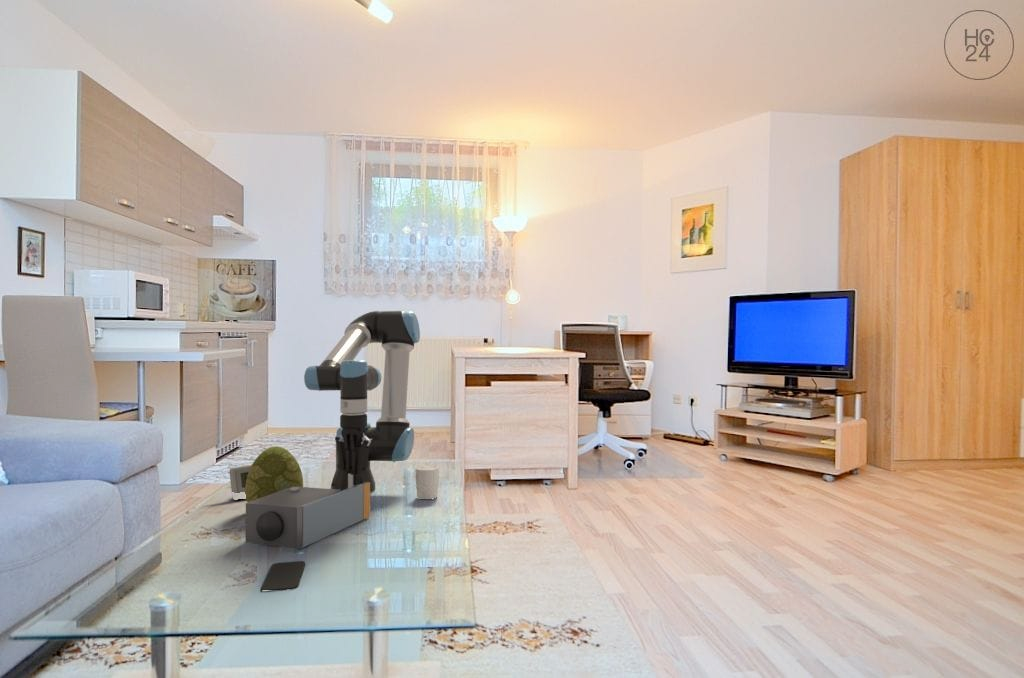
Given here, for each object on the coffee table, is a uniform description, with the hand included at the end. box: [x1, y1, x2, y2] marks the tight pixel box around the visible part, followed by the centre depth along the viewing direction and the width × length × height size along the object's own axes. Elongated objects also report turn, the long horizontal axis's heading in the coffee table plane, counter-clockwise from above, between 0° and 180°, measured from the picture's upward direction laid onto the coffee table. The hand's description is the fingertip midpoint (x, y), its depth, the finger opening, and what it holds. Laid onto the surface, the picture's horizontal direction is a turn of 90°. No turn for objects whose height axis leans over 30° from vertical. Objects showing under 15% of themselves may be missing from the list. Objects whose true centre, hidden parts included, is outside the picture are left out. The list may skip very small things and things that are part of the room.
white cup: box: [414, 464, 440, 500], centre depth 192 cm, size 8×8×10 cm
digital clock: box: [229, 464, 252, 493], centre depth 195 cm, size 16×9×11 cm, turn 123°
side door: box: [296, 482, 371, 550], centre depth 155 cm, size 29×1×10 cm, turn 159°
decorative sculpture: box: [245, 445, 304, 503], centre depth 175 cm, size 16×16×20 cm
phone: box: [260, 560, 306, 591], centre depth 125 cm, size 7×1×15 cm
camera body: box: [245, 486, 341, 549], centre depth 154 cm, size 21×16×11 cm
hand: (353, 495), depth 165 cm, fingers closed
